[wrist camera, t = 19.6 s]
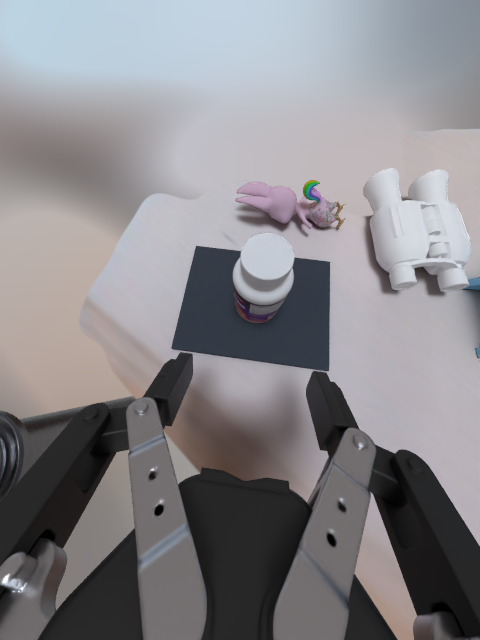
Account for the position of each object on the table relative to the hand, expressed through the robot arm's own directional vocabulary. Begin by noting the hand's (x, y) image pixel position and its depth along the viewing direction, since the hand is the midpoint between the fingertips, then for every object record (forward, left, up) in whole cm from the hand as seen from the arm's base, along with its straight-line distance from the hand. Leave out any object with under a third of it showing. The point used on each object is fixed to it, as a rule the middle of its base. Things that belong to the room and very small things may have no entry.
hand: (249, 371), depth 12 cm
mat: (0, +8, -9) cm, 13 cm away
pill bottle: (0, +8, -9) cm, 12 cm away
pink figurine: (+3, +23, -9) cm, 25 cm away
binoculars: (+19, +20, -9) cm, 30 cm away
